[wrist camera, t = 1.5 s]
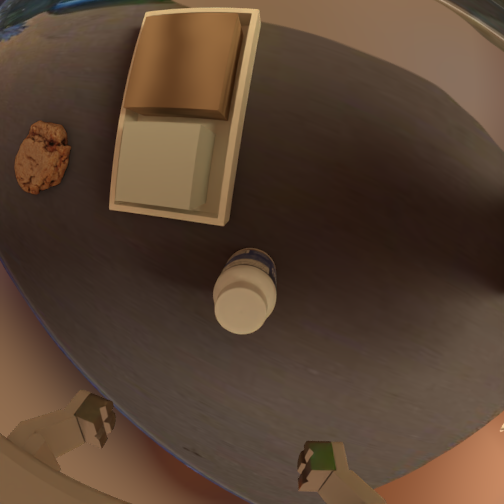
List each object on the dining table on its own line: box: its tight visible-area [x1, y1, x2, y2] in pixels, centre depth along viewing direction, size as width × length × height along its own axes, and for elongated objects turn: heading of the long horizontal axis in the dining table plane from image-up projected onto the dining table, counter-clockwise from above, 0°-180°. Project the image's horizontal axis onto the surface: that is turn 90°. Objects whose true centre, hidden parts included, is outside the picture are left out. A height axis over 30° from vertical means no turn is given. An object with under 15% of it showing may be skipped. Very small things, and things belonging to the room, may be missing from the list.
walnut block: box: [123, 13, 244, 121], centre depth 23 cm, size 9×10×5 cm
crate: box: [109, 8, 261, 226], centre depth 26 cm, size 12×22×4 cm, turn 171°
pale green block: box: [115, 122, 216, 210], centre depth 25 cm, size 7×7×6 cm
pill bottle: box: [213, 248, 277, 334], centre depth 27 cm, size 5×5×10 cm
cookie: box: [15, 121, 71, 194], centre depth 29 cm, size 10×11×3 cm
